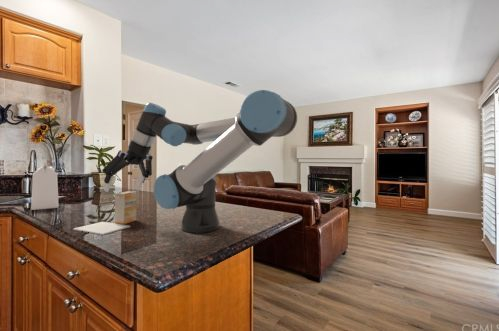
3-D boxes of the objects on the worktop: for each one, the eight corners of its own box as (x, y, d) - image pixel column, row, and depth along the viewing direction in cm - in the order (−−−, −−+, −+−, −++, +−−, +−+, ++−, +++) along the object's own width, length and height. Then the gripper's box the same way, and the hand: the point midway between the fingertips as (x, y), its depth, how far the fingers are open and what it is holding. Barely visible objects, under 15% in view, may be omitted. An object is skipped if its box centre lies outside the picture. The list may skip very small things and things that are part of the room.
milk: (31, 206, 141) (31, 160, 140) (57, 204, 148) (57, 160, 148) (31, 209, 132) (30, 160, 131) (58, 207, 139) (58, 160, 138)
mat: (130, 227, 101) (130, 225, 101) (102, 235, 90) (102, 233, 90) (102, 222, 107) (102, 221, 107) (73, 229, 96) (73, 228, 96)
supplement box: (124, 225, 104) (124, 193, 104) (114, 224, 105) (114, 193, 105) (137, 220, 112) (137, 191, 112) (127, 219, 113) (127, 190, 113)
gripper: (161, 142, 109) (142, 184, 113) (105, 132, 87) (84, 185, 91) (171, 150, 106) (152, 193, 110) (116, 142, 84) (94, 196, 88)
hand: (121, 189), depth 100 cm, fingers open, 13 cm apart
